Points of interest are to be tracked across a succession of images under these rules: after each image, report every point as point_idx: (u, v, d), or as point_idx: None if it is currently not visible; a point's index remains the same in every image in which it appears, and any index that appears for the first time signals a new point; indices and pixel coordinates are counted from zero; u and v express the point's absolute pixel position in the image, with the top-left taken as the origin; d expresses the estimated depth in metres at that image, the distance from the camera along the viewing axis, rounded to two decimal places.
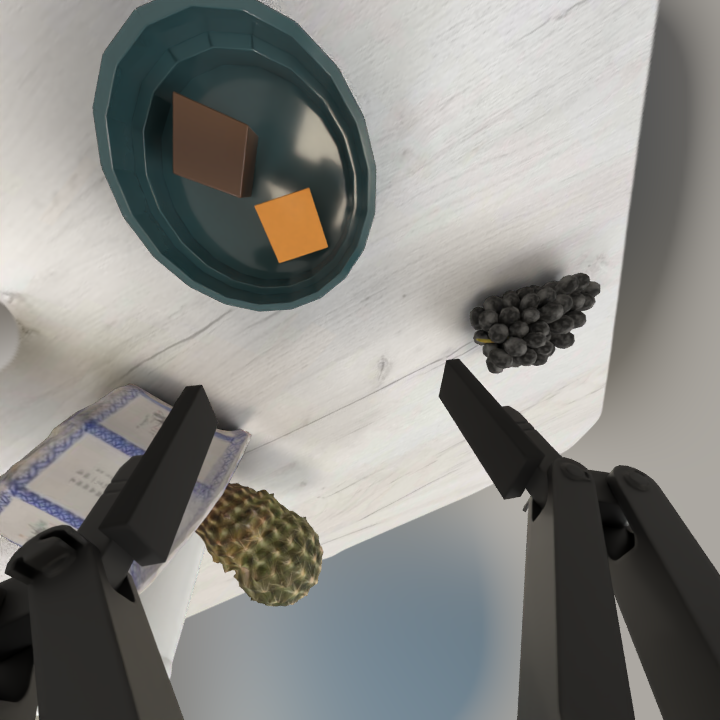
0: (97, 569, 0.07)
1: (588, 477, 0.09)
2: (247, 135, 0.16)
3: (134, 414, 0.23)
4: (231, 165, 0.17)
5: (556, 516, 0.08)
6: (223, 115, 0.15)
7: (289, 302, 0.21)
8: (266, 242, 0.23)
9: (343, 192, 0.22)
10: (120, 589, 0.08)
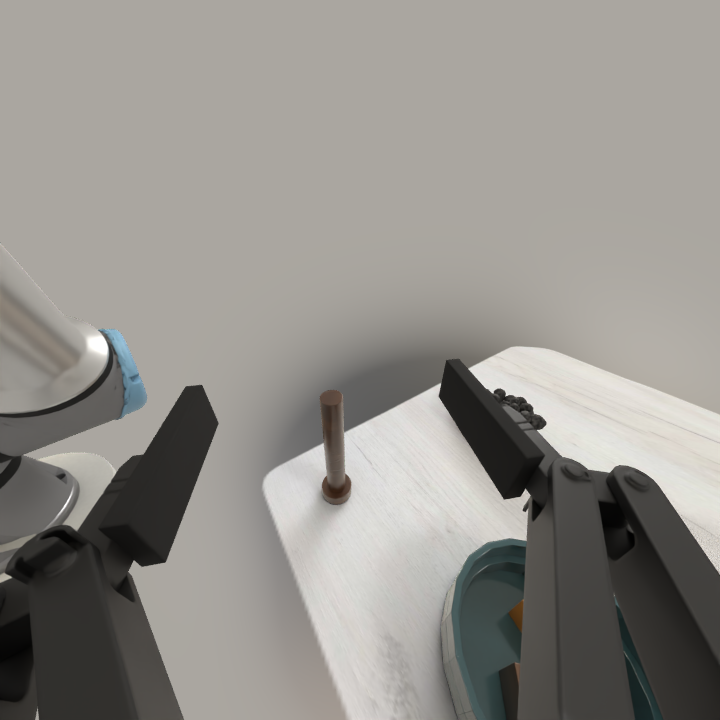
0: (97, 569, 0.07)
1: (588, 477, 0.09)
2: None
3: None
4: None
5: (556, 516, 0.08)
6: None
7: None
8: None
9: (494, 577, 0.28)
10: (120, 589, 0.08)
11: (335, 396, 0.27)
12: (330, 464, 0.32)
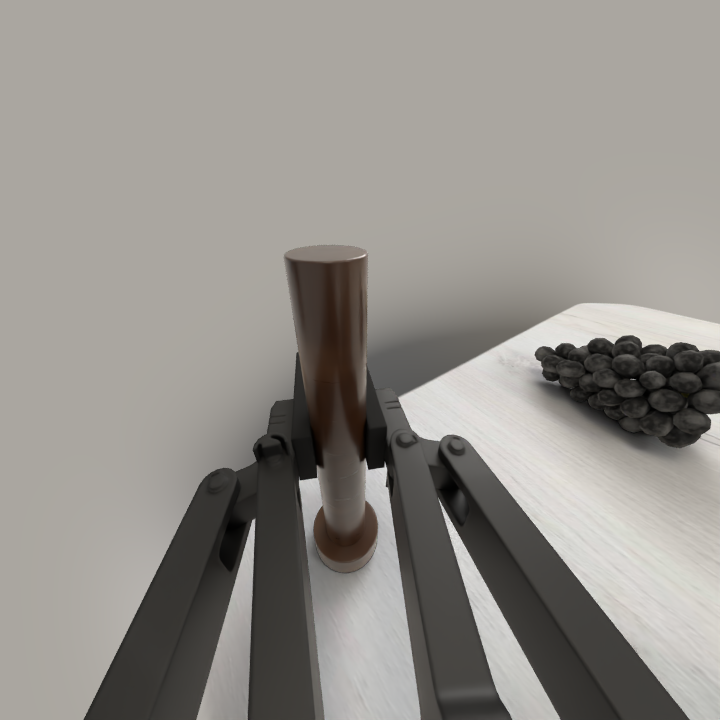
0: (293, 477, 0.09)
1: (416, 438, 0.10)
2: None
3: None
4: None
5: (401, 490, 0.09)
6: None
7: None
8: None
9: None
10: None
11: (340, 251, 0.08)
12: (329, 485, 0.12)
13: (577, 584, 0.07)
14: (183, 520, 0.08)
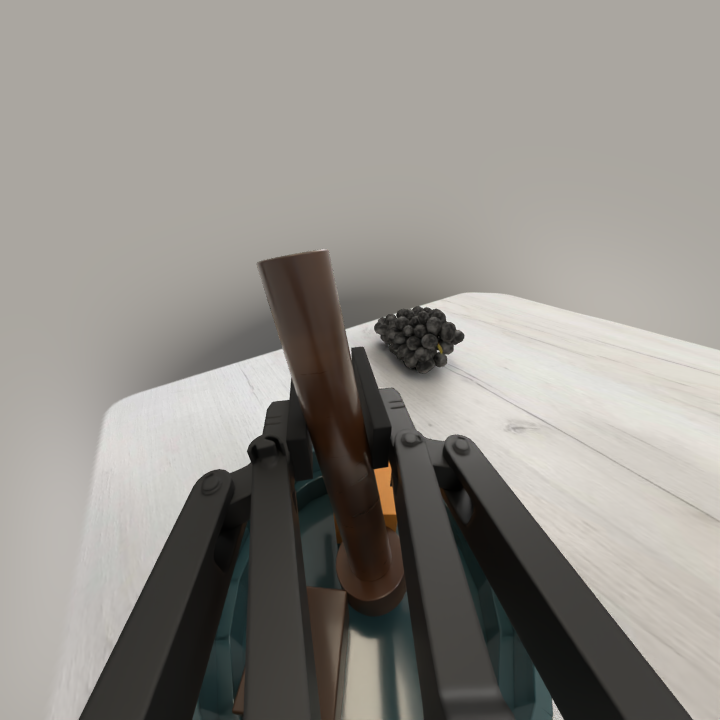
0: (288, 478, 0.09)
1: (421, 438, 0.10)
2: None
3: None
4: (311, 606, 0.12)
5: (405, 489, 0.09)
6: None
7: None
8: None
9: None
10: None
11: None
12: (341, 498, 0.11)
13: (582, 586, 0.07)
14: (177, 522, 0.08)
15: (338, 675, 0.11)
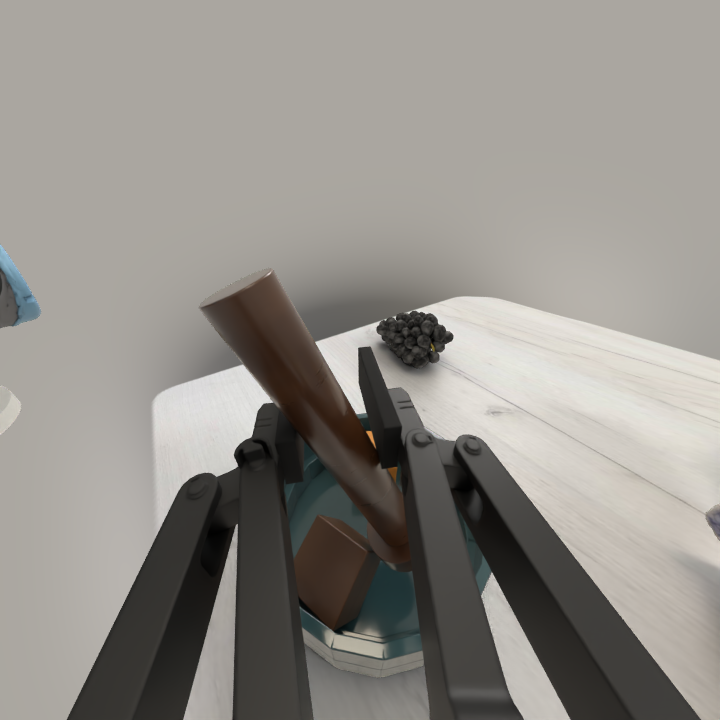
0: (277, 481, 0.09)
1: (431, 439, 0.10)
2: (323, 518, 0.17)
3: None
4: (339, 547, 0.16)
5: (415, 488, 0.09)
6: (306, 536, 0.17)
7: None
8: None
9: None
10: None
11: (248, 280, 0.08)
12: (345, 491, 0.12)
13: (594, 589, 0.06)
14: (162, 528, 0.08)
15: (344, 605, 0.14)
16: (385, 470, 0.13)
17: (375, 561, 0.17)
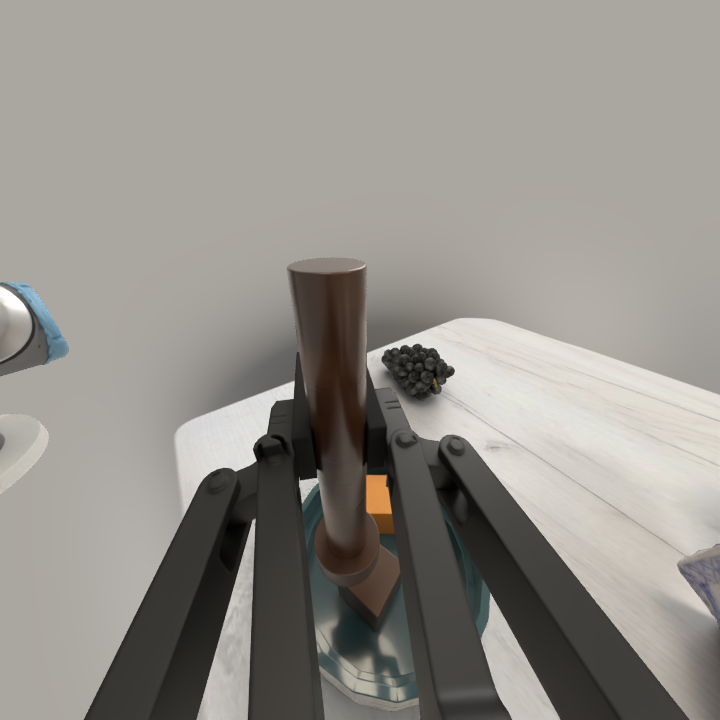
0: (293, 477, 0.09)
1: (416, 439, 0.10)
2: None
3: None
4: (383, 558, 0.21)
5: (400, 490, 0.09)
6: None
7: None
8: None
9: None
10: None
11: (341, 263, 0.08)
12: (325, 491, 0.12)
13: (577, 584, 0.07)
14: (183, 520, 0.08)
15: (386, 599, 0.19)
16: (366, 480, 0.13)
17: (399, 584, 0.22)
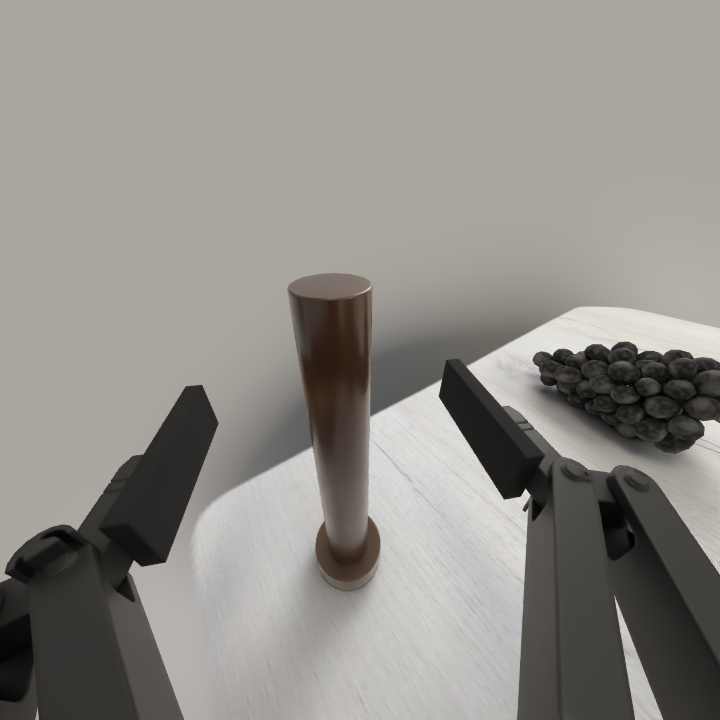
0: (97, 569, 0.07)
1: (588, 477, 0.09)
2: None
3: None
4: None
5: (556, 516, 0.08)
6: None
7: None
8: None
9: None
10: (120, 589, 0.08)
11: (345, 283, 0.07)
12: (327, 503, 0.12)
13: None
14: None
15: None
16: None
17: None
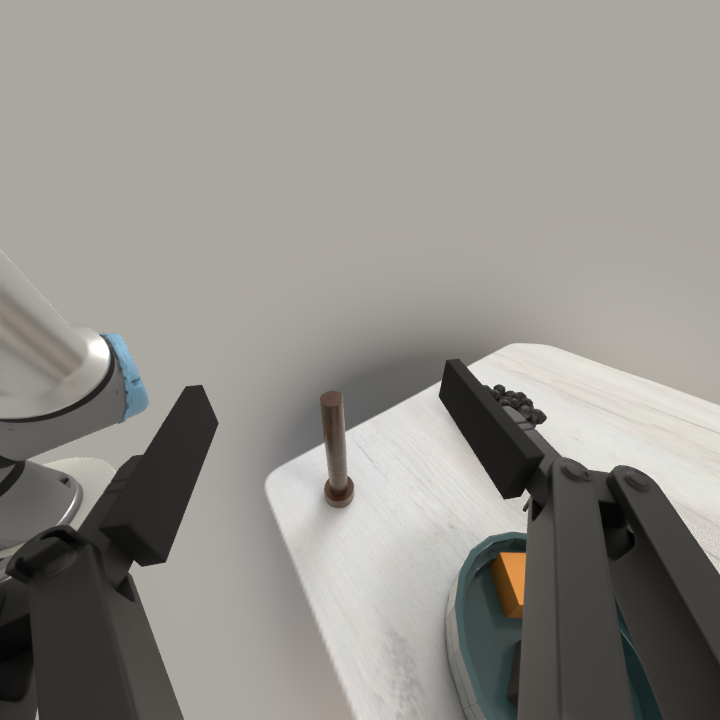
0: (97, 569, 0.07)
1: (588, 477, 0.09)
2: None
3: None
4: None
5: (556, 516, 0.08)
6: None
7: None
8: None
9: None
10: (120, 589, 0.08)
11: (335, 398, 0.27)
12: (330, 465, 0.31)
13: None
14: None
15: None
16: (346, 461, 0.32)
17: None
